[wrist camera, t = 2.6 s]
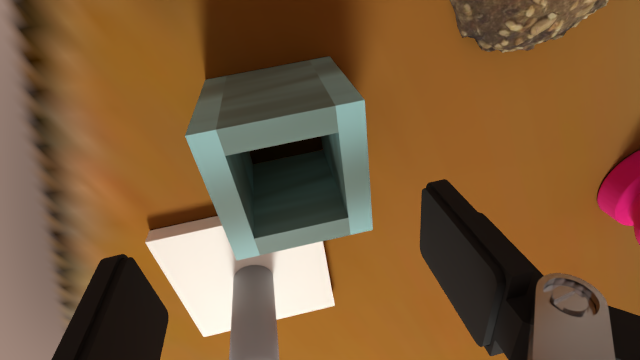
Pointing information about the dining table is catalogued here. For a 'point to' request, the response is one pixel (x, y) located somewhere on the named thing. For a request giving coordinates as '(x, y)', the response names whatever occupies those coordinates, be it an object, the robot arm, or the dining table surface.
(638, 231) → the pepper mill
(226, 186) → the collar
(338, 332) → the dining table surface
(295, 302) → the shaft base
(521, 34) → the bread roll
